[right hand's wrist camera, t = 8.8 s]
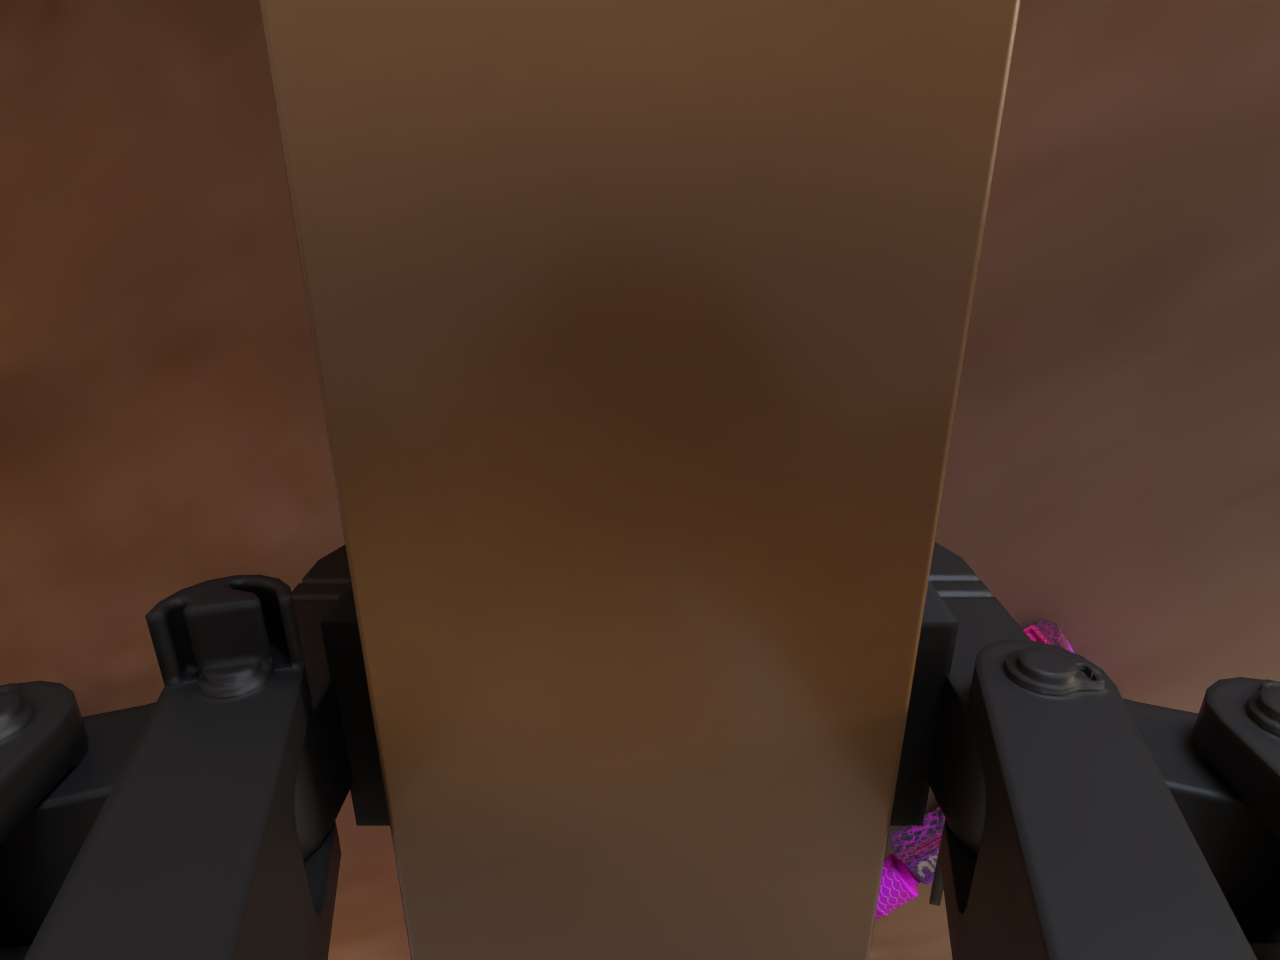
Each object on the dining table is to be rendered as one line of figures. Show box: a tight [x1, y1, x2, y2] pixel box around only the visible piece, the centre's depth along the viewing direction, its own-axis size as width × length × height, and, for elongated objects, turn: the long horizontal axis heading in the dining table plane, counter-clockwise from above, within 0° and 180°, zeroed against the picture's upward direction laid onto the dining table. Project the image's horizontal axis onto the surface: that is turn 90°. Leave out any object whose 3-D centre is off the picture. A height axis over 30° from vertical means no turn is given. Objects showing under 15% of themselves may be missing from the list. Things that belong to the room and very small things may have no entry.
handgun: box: [875, 620, 1074, 920], centre depth 31 cm, size 21×8×2 cm, turn 131°
